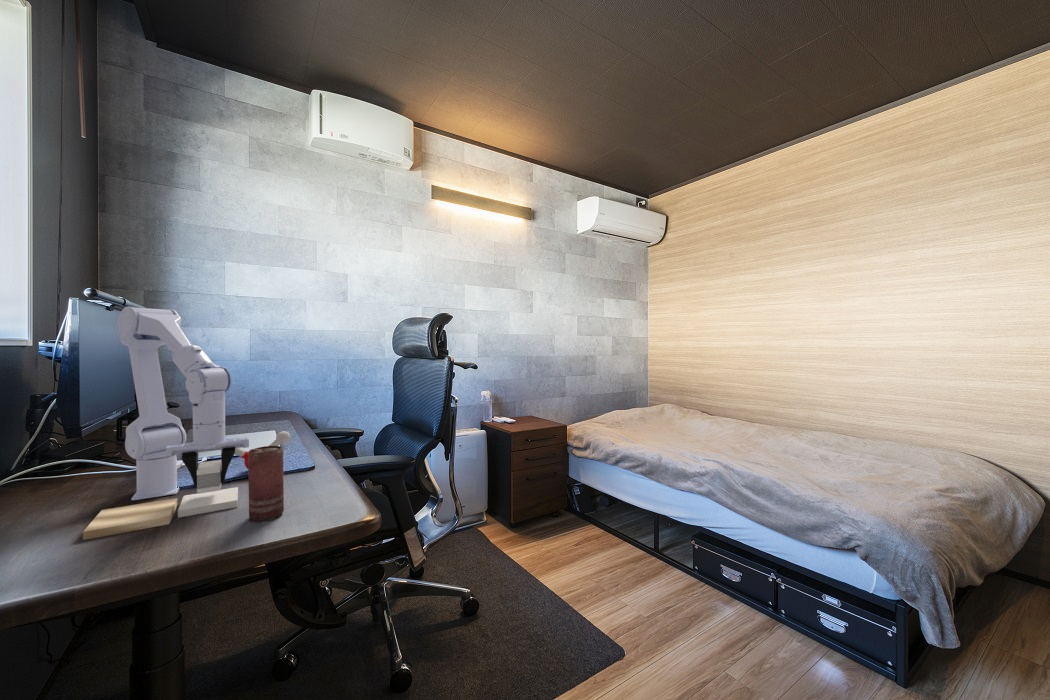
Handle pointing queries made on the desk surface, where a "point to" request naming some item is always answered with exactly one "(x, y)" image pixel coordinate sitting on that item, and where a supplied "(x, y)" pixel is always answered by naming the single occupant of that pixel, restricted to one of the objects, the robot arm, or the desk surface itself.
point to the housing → (209, 476)
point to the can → (265, 483)
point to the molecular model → (280, 439)
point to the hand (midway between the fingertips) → (209, 483)
